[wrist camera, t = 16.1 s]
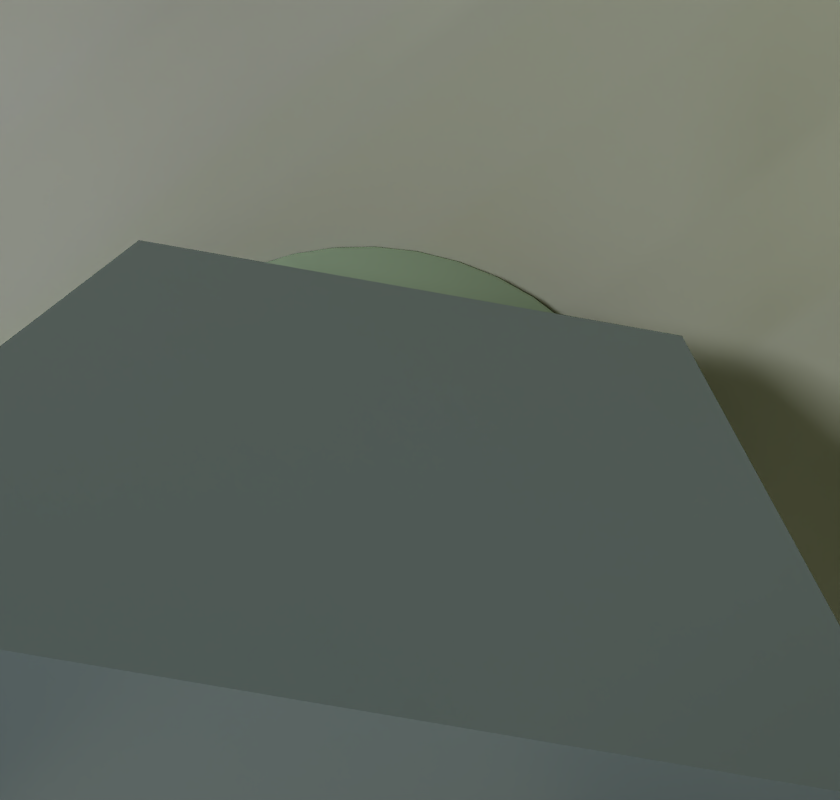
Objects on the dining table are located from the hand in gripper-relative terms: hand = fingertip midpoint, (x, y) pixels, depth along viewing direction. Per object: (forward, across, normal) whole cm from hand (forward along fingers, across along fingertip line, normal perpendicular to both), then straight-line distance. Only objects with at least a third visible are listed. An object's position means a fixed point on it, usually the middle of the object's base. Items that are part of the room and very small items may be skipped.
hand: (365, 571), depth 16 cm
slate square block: (0, 0, +2) cm, 2 cm away
